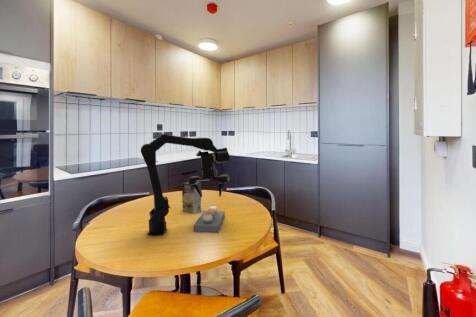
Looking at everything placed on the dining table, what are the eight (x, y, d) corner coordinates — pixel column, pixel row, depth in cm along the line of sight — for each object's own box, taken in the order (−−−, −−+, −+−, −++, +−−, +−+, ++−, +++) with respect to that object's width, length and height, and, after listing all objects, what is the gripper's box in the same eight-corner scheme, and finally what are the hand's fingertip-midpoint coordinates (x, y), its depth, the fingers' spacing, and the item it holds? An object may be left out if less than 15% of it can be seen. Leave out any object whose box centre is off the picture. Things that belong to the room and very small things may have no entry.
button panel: (193, 232, 112) (193, 225, 112) (204, 216, 132) (203, 210, 132) (218, 232, 111) (218, 225, 111) (224, 217, 131) (224, 211, 131)
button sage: (201, 221, 113) (201, 217, 113) (203, 218, 117) (203, 214, 117) (211, 221, 112) (211, 217, 112) (213, 218, 117) (213, 214, 116)
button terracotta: (204, 216, 119) (204, 212, 119) (206, 213, 124) (206, 209, 123) (214, 216, 119) (214, 213, 119) (215, 213, 123) (215, 210, 123)
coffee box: (181, 211, 142) (181, 183, 140) (189, 208, 147) (189, 181, 145) (194, 213, 137) (193, 184, 135) (201, 210, 142) (201, 182, 140)
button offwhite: (207, 212, 126) (207, 208, 125) (209, 209, 130) (209, 206, 130) (216, 212, 125) (216, 208, 125) (218, 209, 130) (218, 206, 129)
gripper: (230, 160, 124) (233, 191, 126) (194, 162, 127) (197, 192, 129) (225, 164, 113) (228, 198, 115) (186, 166, 116) (189, 199, 118)
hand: (210, 196), depth 120 cm, fingers open, 9 cm apart
